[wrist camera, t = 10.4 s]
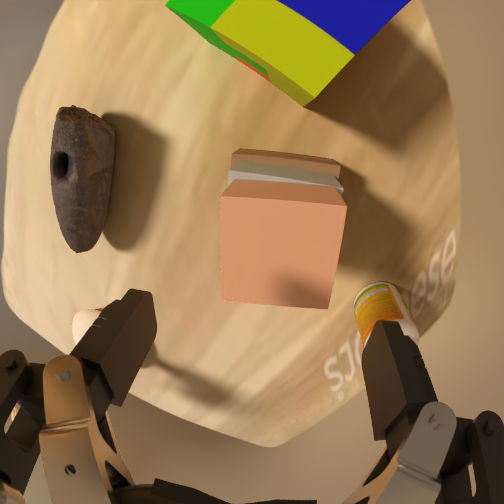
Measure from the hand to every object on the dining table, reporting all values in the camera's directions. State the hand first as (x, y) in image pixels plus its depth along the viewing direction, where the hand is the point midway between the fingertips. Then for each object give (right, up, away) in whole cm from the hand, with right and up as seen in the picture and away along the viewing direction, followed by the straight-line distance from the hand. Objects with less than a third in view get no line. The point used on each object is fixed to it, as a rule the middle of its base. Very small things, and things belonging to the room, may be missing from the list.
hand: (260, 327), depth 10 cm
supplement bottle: (+13, -3, +19) cm, 23 cm away
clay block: (+2, +4, +8) cm, 9 cm away
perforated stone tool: (-16, +11, +16) cm, 25 cm away
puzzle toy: (+3, +21, +9) cm, 23 cm away
